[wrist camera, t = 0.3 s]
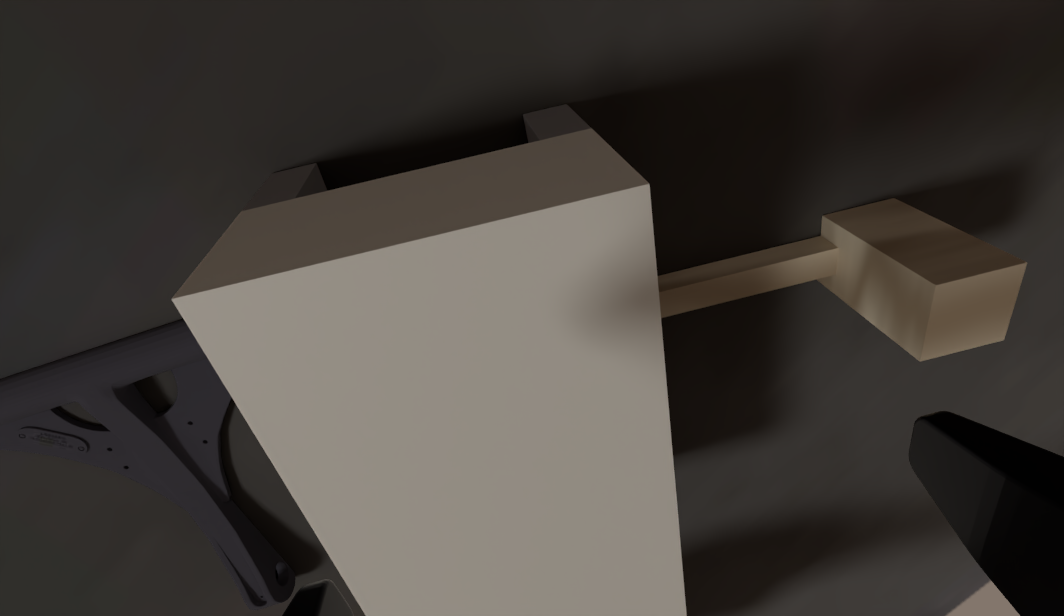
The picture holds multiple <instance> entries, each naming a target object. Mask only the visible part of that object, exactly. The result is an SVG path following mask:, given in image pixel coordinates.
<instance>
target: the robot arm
mask: <svg viewBox="0 0 1064 616" xmlns="http://www.w3.org/2000/svg"><path fill="white" fill-rule="evenodd" d="M909 461H910V464H911V466H912V469H913V470H914V472H915V474H916V475H917V477H918V478H919V479H920V481H921V482H922V484H923V485H924V487H925V488H926V490H927V491H928V493H929V494H930V496H931V497H932V498H933V500H934V501H935V503H936V504H937V506H938V507H939V509H940V510H941V512H942V513H943V515H944V516H945V517H946V519H947V520H948V522H949V523H950V525H951V526H952V528H953V529H954V531H955V532H956V533H957V535H958V536H959V538H960V539H961V541H962V542H963V544H964V545H965V547H966V548H967V549H968V551H969V552H970V554H971V555H972V556H973V558H974V559H975V560H976V562H977V563H978V564H979V566H980V567H981V568H982V569H983V571H984V572H985V573H986V574H987V576H988V577H989V578H990V579H991V581H992V582H993V583H994V584H995V585H996V587H997V588H998V589H999V590H1000V592H1001V593H1002V594H1003V595H1004V596H1005V598H1006V599H1007V600H1008V601H1009V602H1010V604H1011V605H1012V606H1013V607H1014V608H1015V610H1016V611H1017V612H1018V613H1019V614H1020V616H1064V457H1063V456H1060V455H1058V454H1055V453H1053V452H1050V451H1048V450H1045V449H1043V448H1040V447H1037V446H1035V445H1032V444H1030V443H1027V442H1025V441H1022V440H1020V439H1017V438H1015V437H1012V436H1010V435H1007V434H1005V433H1002V432H1000V431H997V430H995V429H992V428H990V427H987V426H985V425H982V424H980V423H977V422H975V421H972V420H970V419H967V418H965V417H962V416H960V415H957V414H954V413H952V412H948V411H939V412H935V413H932V414H928V415H924V416H921V417H919V418H918V419H917V420H916V421H915V423H914V428H913V433H912V438H911V444H910V449H909ZM282 616H353V613H352V610H351V608H350V606H349V605H348V603H347V602H346V600H345V599H344V597H343V596H342V594H341V593H340V591H339V590H338V588H337V587H336V585H335V584H334V583H333V581H331V580H328V579H325V580H321V581H318V582H314V583H310V584H307V585H305V586H303V587H302V588H301V589H300V590H299V591H298V592H297V593H296V595H295V596H294V598H293V599H292V601H291V603H290V604H289V606H288V607H287V609H286V610H285V612H284V614H283V615H282Z"/></svg>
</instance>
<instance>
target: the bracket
mask: <svg viewBox="0 0 1064 616" xmlns="http://www.w3.org/2000/svg"><path fill="white" fill-rule="evenodd" d="M168 370H171V371H172V373H173V375H174V377H175V380H176V382H177V387H178V395H177V399H176V402H175V403H174V404H173V405H172V406H171V407H170V408H169V409H168V410H166V411H164V412H161V413H156V412H155V411H154V409H153V408H152V407H151V406H150V405H149V404H148V402H147V401H146V400H145V399H144V397H143V396H142V395H141V394H140V392H139V391H138V389H137V388H136V387H135V385H134V383H133V382H136V381H138V380H141V379H144V378H147V377H150V376H153V375H156V374H159V373H162V372H165V371H168ZM231 399H232V397H231V395H230V394H229V392H228V390H227V389H226V387H225V386H224V384H223V382H222V381H221V379H220V377H219V376H218V374H217V373H216V371H215V369H214V368H213V366H212V364H211V363H210V361H209V360H208V358H207V356H206V355H205V353H204V351H203V350H202V348H201V347H200V345H199V343H198V342H197V340H196V338H195V337H194V335H193V334H192V332H191V330H190V329H189V327H188V325H187V324H186V322H185V321H184V319H182V320H179V321H176V322H173V323H170V324H167V325H164V326H161V327H158V328H155V329H152V330H149V331H146V332H143V333H140V334H137V335H134V336H130V337H127V338H124V339H121V340H118V341H115V342H112V343H109V344H106V345H103V346H100V347H97V348H94V349H91V350H88V351H85V352H82V353H79V354H76V355H73V356H70V357H67V358H64V359H61V360H58V361H55V362H52V363H49V364H45V365H42V366H39V367H36V368H33V369H30V370H27V371H24V372H21V373H18V374H15V375H12V376H9V377H6V378H3V379H0V450H12V451H23V452H31V453H38V454H45V455H50V456H56V457H61V458H65V459H70V460H74V461H78V462H82V463H86V464H90V465H93V466H97V467H101V468H105V469H108V470H111V471H114V472H117V473H119V474H121V475H123V476H125V477H128V478H130V479H132V480H134V481H136V482H138V483H140V484H143V485H145V486H146V487H148V488H150V489H152V490H154V491H156V492H158V493H160V494H161V495H163V496H165V497H166V498H168V499H169V500H171V501H172V502H174V503H175V504H177V505H178V506H180V507H182V508H183V509H185V510H186V511H188V513H189V514H190V515H191V517H192V518H193V519H194V521H195V522H196V523H197V525H198V526H199V527H200V529H201V530H202V531H203V532H204V534H205V535H206V536H207V538H208V539H209V541H210V542H211V544H212V546H213V547H214V549H215V551H216V552H217V554H218V556H219V557H220V559H221V561H222V562H223V564H224V566H225V567H226V569H227V570H228V572H229V574H230V575H231V577H232V579H233V580H234V582H235V584H236V586H237V587H238V589H239V591H240V593H241V595H242V598H243V600H244V602H245V603H246V605H247V606H248V608H249V609H251V610H260V609H263V608H266V607H269V606H272V605H275V604H279V603H282V602H284V601H286V600H287V599H288V598H289V597H290V596H291V594H292V592H293V589H294V586H295V572H294V571H293V570H292V569H291V568H290V567H289V565H288V564H287V563H286V562H285V561H284V560H283V558H282V557H281V556H280V555H279V554H278V553H277V551H276V550H275V549H274V548H273V547H272V546H271V545H270V543H269V542H268V541H267V540H266V539H265V538H264V536H263V535H262V534H261V533H260V532H259V531H258V530H257V528H256V527H255V526H254V525H253V524H252V523H251V521H250V520H249V519H248V518H247V517H246V516H245V515H244V513H243V512H242V511H241V510H240V509H239V508H238V506H237V505H236V504H235V503H234V502H233V501H232V499H231V498H230V497H231V495H232V494H231V491H230V488H229V485H228V482H227V479H226V475H225V472H224V469H223V464H222V457H221V427H222V424H223V421H224V417H225V414H226V411H227V408H228V406H229V403H230V401H231ZM72 402H78V403H79V404H80V405H81V406H82V407H83V408H84V409H85V410H86V411H87V412H88V413H90V414H91V415H92V416H93V417H94V418H95V419H97V420H98V421H99V422H100V423H101V424H103V425H104V426H105V427H103V426H95V425H90V424H86V423H82V422H80V421H77V420H75V419H73V418H71V417H69V416H67V415H65V414H64V413H62V412H61V411H59V410H58V409H57V408H55V407H58V406H61V405H65V404H68V403H72ZM275 570H277V573H278V579H276V574H275Z"/></svg>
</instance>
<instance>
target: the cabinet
mask: <svg viewBox="0 0 1064 616" xmlns="http://www.w3.org/2000/svg"><path fill="white" fill-rule="evenodd" d="M523 118H524V123H525V129H526V134H527V139H528V143H527V144H523V145H518V146H514V147H510V148H506V149H502V150H497V151H493V152H489V153H485V154H481V155H476V156H472V157H468V158H464V159H459V160H455V161H451V162H447V163H443V164H438V165H434V166H430V167H426V168H422V169H417V170H413V171H409V172H405V173H400V174H396V175H392V176H388V177H384V178H379V179H375V180H371V181H367V182H363V183H358V184H354V185H350V186H346V187H341V188H337V189H333V190H329V191H327V188H326V186H325V183H324V181H323V178H322V176H321V173H320V171H319V168H318V166H317V163H314V164H310V165H305V166H301V167H297V168H293V169H288V170H284V171H280V172H276V173H272V174H271V175H270V176H269V177H268V179H267V180H266V181H265V182H264V184H263V185H262V186H261V187H260V189H259V190H258V191H257V192H256V194H255V195H254V196H253V197H252V199H251V200H250V201H249V202H248V204H247V205H246V206H245V207H244V209H243V210H242V211H241V212H240V214H239V215H238V216H237V217H236V219H235V220H234V221H233V222H232V224H231V225H230V226H229V227H228V229H227V230H226V231H225V232H224V234H223V235H222V236H221V238H220V239H219V240H218V241H217V243H216V244H215V245H214V246H213V248H212V249H211V250H210V251H209V253H208V254H207V255H206V256H205V258H204V259H203V260H202V261H201V263H200V264H199V265H198V266H197V268H196V269H195V270H194V271H193V273H192V274H191V275H190V276H189V278H188V279H187V280H186V281H185V283H184V284H183V285H182V286H181V288H180V289H179V290H178V291H177V293H176V294H175V295H174V297H173V298H172V301H173V303H174V304H175V306H176V307H177V309H178V311H179V312H180V314H181V316H182V317H183V319H184V321H185V322H186V324H187V325H188V327H189V329H190V330H191V332H192V334H193V335H194V337H195V338H196V340H197V342H198V343H199V345H200V347H201V348H202V350H203V351H204V353H205V355H206V356H207V358H208V360H209V361H210V363H211V364H212V366H213V368H214V369H215V371H216V373H217V374H218V376H219V377H220V379H221V381H222V382H223V384H224V386H225V387H226V389H227V390H228V392H229V394H230V395H231V397H232V399H233V400H234V402H235V403H236V405H237V407H238V408H239V410H240V412H241V413H242V415H243V417H244V418H245V420H246V421H247V423H248V425H249V426H250V428H251V430H252V431H253V433H254V434H255V436H256V438H257V439H258V441H259V443H260V444H261V446H262V447H263V449H264V451H265V452H266V454H267V456H268V457H269V459H270V460H271V462H272V464H273V465H274V467H275V469H276V470H277V472H278V473H279V475H280V477H281V478H282V480H283V482H284V483H285V485H286V486H287V488H288V490H289V491H290V493H291V495H292V496H293V498H294V499H295V501H296V503H297V504H298V506H299V508H300V509H301V511H302V513H303V514H304V516H305V517H306V519H307V521H308V522H309V524H310V526H311V527H312V529H313V530H314V532H315V534H316V535H317V537H318V539H319V540H320V542H321V543H322V545H323V547H324V548H325V550H326V552H327V553H328V555H329V556H330V558H331V560H332V561H333V563H334V565H335V566H336V568H337V569H338V571H339V573H340V574H341V576H342V578H343V579H344V581H345V582H346V584H347V586H348V587H349V589H350V591H351V592H352V594H353V595H354V597H355V599H356V600H357V602H358V604H359V605H360V607H361V609H362V610H363V612H364V613H365V615H366V616H687V614H686V602H685V590H684V579H683V567H682V556H681V544H680V532H679V521H678V509H677V498H676V486H675V474H674V463H673V451H672V440H671V428H670V416H669V405H668V393H667V381H666V370H665V358H664V347H663V335H662V323H661V312H660V300H659V289H658V277H657V265H656V254H655V242H654V231H653V219H652V207H651V196H650V184H649V183H648V182H647V181H646V180H645V179H644V178H643V177H642V176H641V175H640V174H639V173H638V172H637V171H636V170H635V169H634V168H633V167H631V166H630V165H629V164H628V163H627V162H626V161H625V160H624V159H623V158H622V157H621V156H620V155H619V154H618V153H617V152H616V151H615V150H614V149H613V148H612V147H611V146H610V145H609V144H607V143H606V142H605V141H604V140H603V139H602V138H601V137H600V136H599V135H598V134H597V133H596V132H595V131H594V130H593V129H592V128H591V127H590V126H589V125H588V124H587V123H586V122H585V121H583V120H582V119H581V118H580V117H579V116H578V115H577V114H576V113H575V112H574V111H573V110H572V109H571V108H570V107H569V106H568V105H567V104H564V105H560V106H556V107H552V108H547V109H543V110H539V111H535V112H530V113H526V114H523Z"/></svg>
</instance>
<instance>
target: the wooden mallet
mask: <svg viewBox="0 0 1064 616" xmlns="http://www.w3.org/2000/svg"><path fill="white" fill-rule="evenodd" d="M1026 265H1027V262H1025V261H1023V260H1021V259H1019V258H1017V257H1015V256H1013V255H1011V254H1009V253H1007V252H1005V251H1002V250H1000V249H998V248H996V247H994V246H992V245H990V244H988V243H986V242H984V241H982V240H980V239H978V238H976V237H973V236H971V235H969V234H967V233H965V232H963V231H961V230H959V229H957V228H955V227H953V226H951V225H949V224H947V223H945V222H942V221H940V220H938V219H936V218H934V217H932V216H930V215H928V214H926V213H924V212H922V211H920V210H918V209H916V208H914V207H911V206H909V205H907V204H905V203H903V202H901V201H899V200H897V199H895V198H892V199H888V200H884V201H880V202H875V203H871V204H867V205H863V206H859V207H855V208H851V209H847V210H843V211H839V212H835V213H831V214H827V215H823V216H822V226H821V236H818V237H814V238H810V239H806V240H802V241H798V242H794V243H790V244H786V245H781V246H777V247H773V248H769V249H765V250H761V251H757V252H753V253H749V254H745V255H741V256H737V257H733V258H729V259H725V260H721V261H717V262H713V263H709V264H705V265H700V266H696V267H692V268H688V269H684V270H680V271H676V272H672V273H668V274H664V275H660V276H657V277H658V289H659V300H660V312H661V318H663V317H667V316H672V315H676V314H680V313H684V312H688V311H692V310H696V309H700V308H704V307H708V306H712V305H716V304H720V303H724V302H728V301H732V300H736V299H740V298H744V297H748V296H752V295H756V294H760V293H764V292H768V291H772V290H776V289H780V288H784V287H788V286H792V285H796V284H800V283H804V282H808V281H812V280H816V279H817V280H818V281H819V282H820V283H821V284H823V285H824V286H825V287H826V288H828V289H829V290H830V291H831V292H833V293H834V294H835V295H837V296H838V297H839V298H840V299H842V300H843V301H844V302H845V303H847V304H848V305H849V306H850V307H852V308H853V309H854V310H855V311H857V312H858V313H859V314H861V315H862V316H863V317H864V318H866V319H867V320H868V321H869V322H871V323H872V324H873V325H874V326H876V327H877V328H878V329H879V330H881V331H882V332H883V333H885V334H886V335H887V336H888V337H890V338H891V339H892V340H893V341H895V342H896V343H897V344H898V345H900V346H901V347H902V348H903V349H905V350H906V351H907V352H909V353H910V354H911V355H912V356H914V357H915V358H916V359H917V360H919V361H924V360H928V359H932V358H936V357H940V356H943V355H947V354H951V353H955V352H959V351H963V350H967V349H971V348H975V347H979V346H983V345H986V344H990V343H994V342H998V341H1002V340H1004V338H1005V335H1006V332H1007V328H1008V325H1009V322H1010V318H1011V315H1012V312H1013V308H1014V305H1015V302H1016V298H1017V295H1018V292H1019V288H1020V285H1021V282H1022V278H1023V275H1024V272H1025V268H1026Z"/></svg>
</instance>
